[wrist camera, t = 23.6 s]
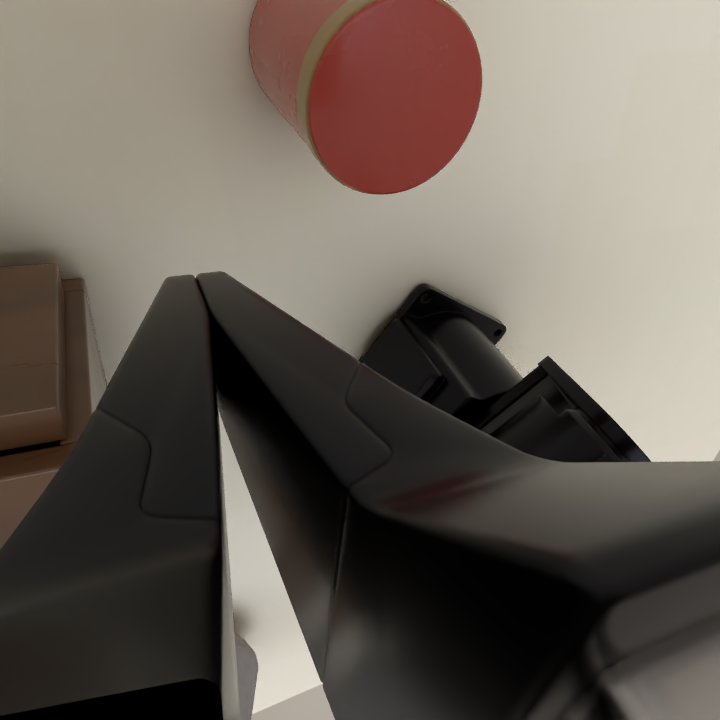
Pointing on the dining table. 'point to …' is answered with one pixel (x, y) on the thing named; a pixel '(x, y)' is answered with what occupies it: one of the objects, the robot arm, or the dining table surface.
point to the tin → (370, 84)
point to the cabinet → (83, 392)
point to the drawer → (32, 358)
